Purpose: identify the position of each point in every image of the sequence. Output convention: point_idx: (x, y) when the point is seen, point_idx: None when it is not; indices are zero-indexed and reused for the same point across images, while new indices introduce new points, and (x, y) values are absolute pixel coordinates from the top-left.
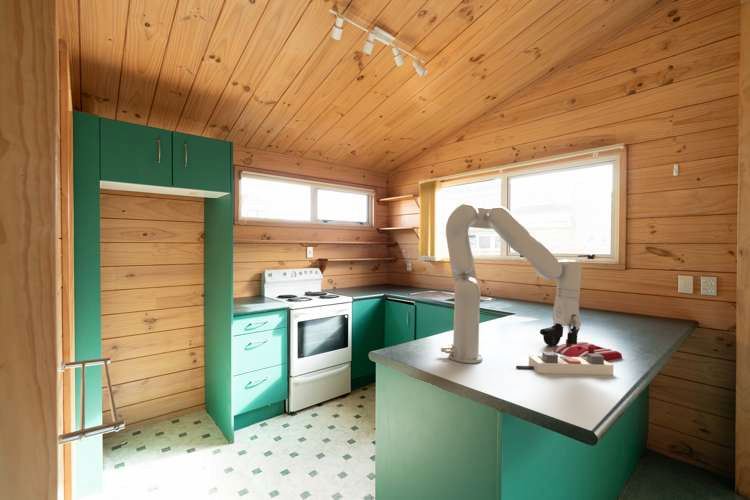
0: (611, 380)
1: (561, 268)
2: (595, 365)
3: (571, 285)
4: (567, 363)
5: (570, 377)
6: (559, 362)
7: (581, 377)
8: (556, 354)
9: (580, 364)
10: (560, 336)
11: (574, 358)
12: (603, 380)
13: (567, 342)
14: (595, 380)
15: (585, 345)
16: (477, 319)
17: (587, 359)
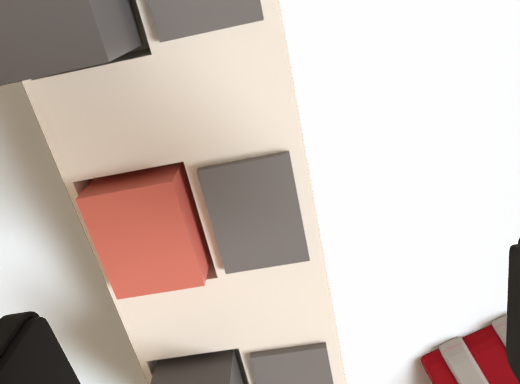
0: (82, 372)
1: None
2: (149, 375)
3: None
4: (70, 169)
5: (8, 133)
6: (68, 94)
7: (53, 216)
8: (22, 78)
9: (106, 277)
10: (508, 332)
11: (196, 273)
12: (58, 331)
13: (5, 320)
14: (31, 286)
15: None
16: None
17: (224, 367)
